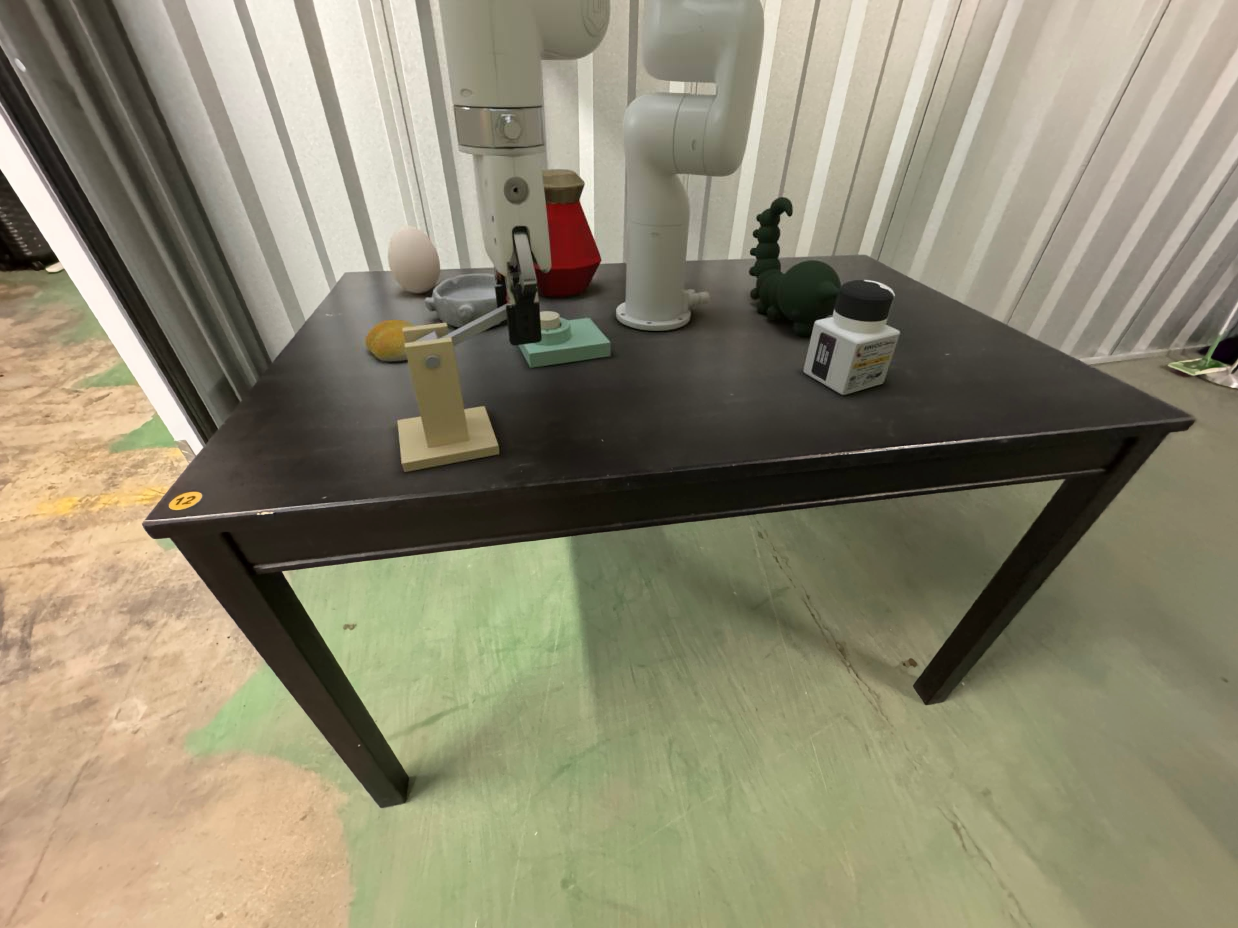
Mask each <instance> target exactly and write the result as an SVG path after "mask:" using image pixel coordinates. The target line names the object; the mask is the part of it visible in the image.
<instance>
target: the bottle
mask: <svg viewBox="0 0 1238 928" xmlns="http://www.w3.org/2000/svg"><path fill="white" fill-rule="evenodd" d="M541 172H542V178H543V185H544V193H545V202H546V211H547V222H548V232H549V243H550V254H551V269H550V271H549V272H548V273H544V272H542V270H540V269H539V268H538V266H537V265H536V264H535V263H534V267H535V274H536V279H537V290H538V296H539V295H540V296H542V297H544V298H553V299H560V298H571V297H575V296H580V295H582V294H584V293H586V291H587V290H588V288H589V285H590V284H591V282H592V281H593V278H594V276H595V274H596V272H597V270H598V268H599V266H600V264H602V257H601V254H600V251H599V248H598V246H597V242H596V240H595V237H594V235H593V232H592V230H591V228H590V227H591V226H590V224H589V222H588V219H587V216H586V215H585V212H584V209H583V206H582V203H581V201H580V199H581V196H582V194H583V191H584V188H585V185H586V183H585V181H584V180H583V179H582V178H581V176H580V175H579V174H578V173H576V171H575V170H573V169H565V168H564V169H563V168H552V169H551V168H550V169H543V170H542V169H541Z"/></svg>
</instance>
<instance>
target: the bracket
mask: <svg viewBox="0 0 1238 928" xmlns="http://www.w3.org/2000/svg"><path fill="white" fill-rule="evenodd" d="M448 327H449V326H448V324H447V323H444V322H440V323H431V324H430V323H429V324H422V325H414V326H413V327H405V328H402V331H403V336H404V340H405V343H404V345H405V350H406V355H407V359H408V360H407V363H408V367H409V372H410V376H411V380H412V385H413V389H414V394H415V398H416V402H417V406H418V411H419V415H420V416H414V417H410V418H409V417H407V418H402V419H397V430H398V441H399V451H400V461H401V466H402V470H403V473H408V472H413V471H418V470H423V469H429V468H435V467H440V466H444V465H449V464H455V463H456V464H457V463H460V462H465V461H472V460H475V459H481V458H487V457H492V456H497V455H500V446H499V443H498V440H497V438H496V435H495V431H494V429H493V426H492V423H491V420H490V417H489V414H488V412H487V409H486V406H485V405H482V406H476V407H470V408H465V405H464V401H463V400H464V399H463V394H462V389H461V384H460V377H459V372H458V366H457V360H456V355H455V349H454V348H455V347H454V346H453V342H452V339H451V337H450V338H442V339H434V340H426V341H418V342H414V341H416V340H418V339H420V338H422V337H424V336H426V335H428V334H430V333H432V332H434V331H435V332H436V333H437V335H438V336H439V338H441V337H443V336H445V335H447V334H449V333H450V332H449V328H448Z"/></svg>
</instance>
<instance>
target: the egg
mask: <svg viewBox="0 0 1238 928" xmlns="http://www.w3.org/2000/svg"><path fill="white" fill-rule="evenodd" d="M440 261H441V260H440V256H439V253H438V251H437V248H436V247H435V245H434V244H433V242H432V240H431V239H430V238H429V236H428V235H427V234H426V233H424V232H423V231H422V230H421V229H419V228H418V227H415V226H412V225H406V226H402V227H400V228H399V229H397V231H395V232H394V233H393V234H392V236H391V238H390V241H389V246H388V249H387V262H388V267H389V270H390V273H391V275H392V277H393V278H394V280H395V281H396V282H397V284H398V285H399V286H401V287H402V288H403V289H405V290H406V291H408V292H411V293H414V294H424V293H427V292H429V291H430V290H432V288H434V287H435V285H436V283H437V282H438V280H439V278H440V274H441V262H440Z"/></svg>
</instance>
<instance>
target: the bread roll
mask: <svg viewBox="0 0 1238 928" xmlns="http://www.w3.org/2000/svg"><path fill="white" fill-rule="evenodd" d="M413 326H415V325H414V324H412V323H410V322H408V321H406V320H402V319H389V320H388V319H387V320H383V321H380V322H379V323H377V324H376V325H374V326H373V327H372V328H371V329H370V330H369V331H368V332H367V334H366V336H365V339H364V341H365V346H366V348H367V350H368V351H370V352H371V354H373V355H374V357H376V359H378V360H379V361H383V362H402V361H403V362H404V361H408V359H407V355H406V350H405V345H404V343H405V340H404V336H403V331H402V328H405V327H413Z"/></svg>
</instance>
